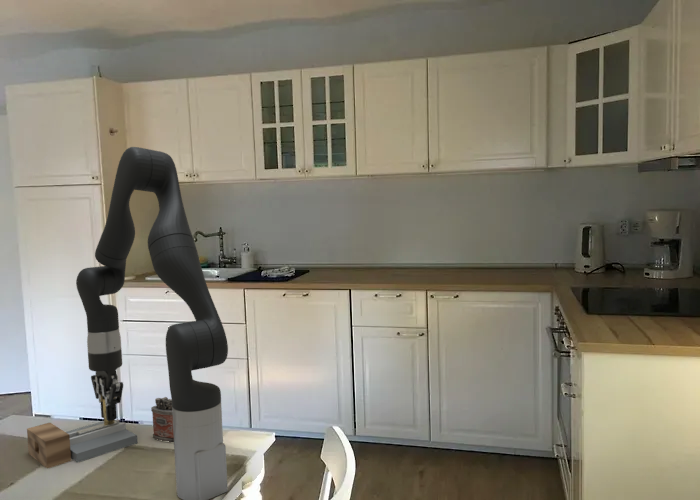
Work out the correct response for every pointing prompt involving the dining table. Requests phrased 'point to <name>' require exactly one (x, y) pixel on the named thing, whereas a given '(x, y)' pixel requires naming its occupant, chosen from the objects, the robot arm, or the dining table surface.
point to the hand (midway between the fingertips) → (109, 418)
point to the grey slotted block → (99, 441)
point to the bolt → (98, 427)
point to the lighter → (163, 419)
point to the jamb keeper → (49, 445)
